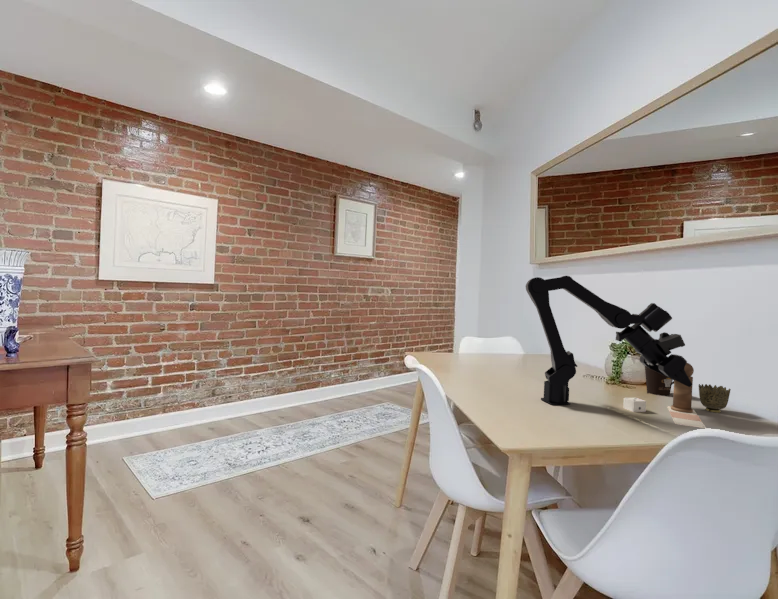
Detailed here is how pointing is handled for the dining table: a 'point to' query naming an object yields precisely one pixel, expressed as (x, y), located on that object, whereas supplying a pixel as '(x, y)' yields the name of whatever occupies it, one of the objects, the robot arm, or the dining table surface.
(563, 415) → the dining table surface
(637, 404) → the die
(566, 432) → the dining table surface
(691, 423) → the board
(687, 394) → the pawn
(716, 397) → the cup
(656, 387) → the coffee mug
